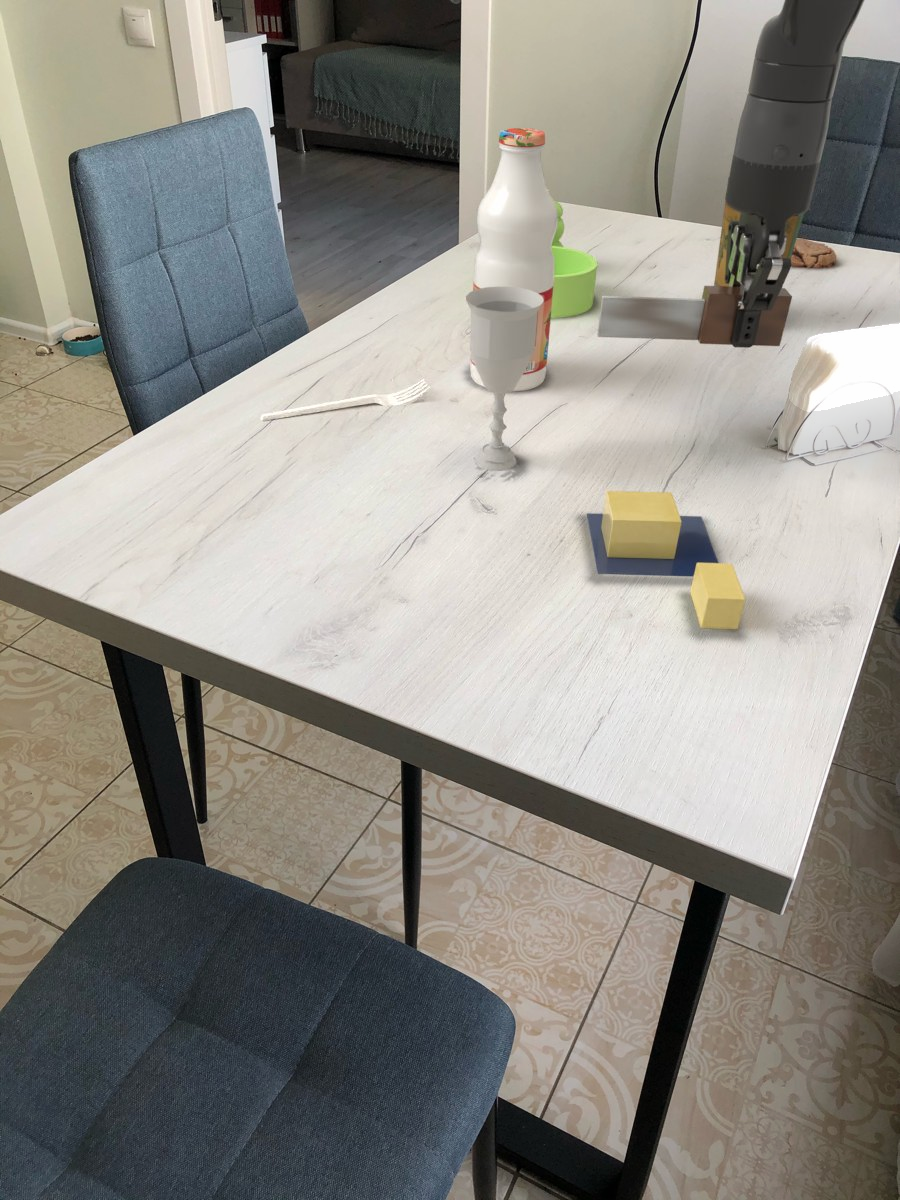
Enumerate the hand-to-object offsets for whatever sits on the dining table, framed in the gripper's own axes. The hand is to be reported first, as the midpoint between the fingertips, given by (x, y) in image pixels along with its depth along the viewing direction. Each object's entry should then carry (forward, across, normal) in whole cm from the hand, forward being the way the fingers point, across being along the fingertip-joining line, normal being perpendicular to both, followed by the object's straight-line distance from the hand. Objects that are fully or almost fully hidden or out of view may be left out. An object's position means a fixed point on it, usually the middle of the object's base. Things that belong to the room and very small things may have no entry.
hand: (737, 339), depth 94 cm
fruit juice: (+13, +19, +21) cm, 32 cm away
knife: (0, 0, +5) cm, 5 cm away
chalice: (+13, -4, +24) cm, 28 cm away
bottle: (+13, +40, -13) cm, 45 cm away
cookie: (+13, +69, -31) cm, 77 cm away
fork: (+13, +10, +40) cm, 44 cm away
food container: (+13, +52, +15) cm, 56 cm away
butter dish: (+13, -19, +10) cm, 25 cm away
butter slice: (+13, -29, +7) cm, 32 cm away
